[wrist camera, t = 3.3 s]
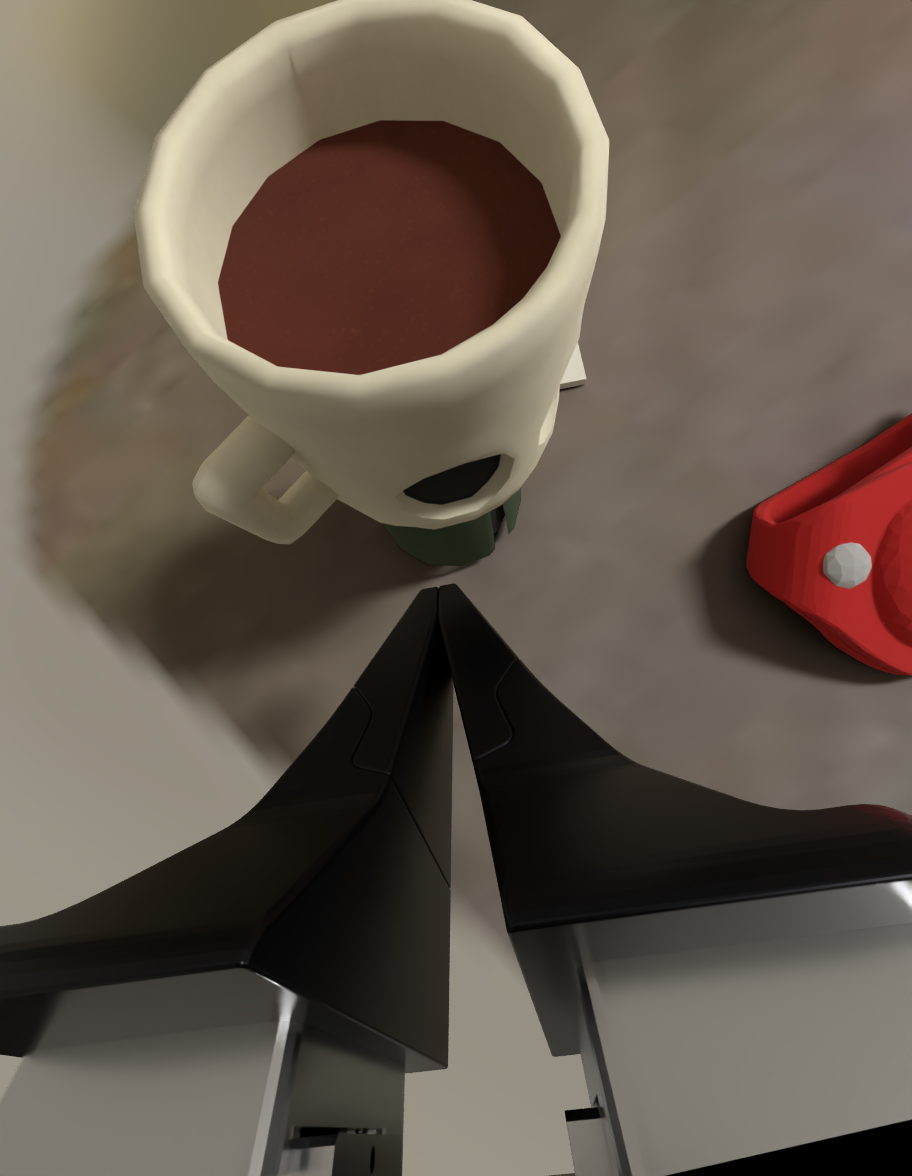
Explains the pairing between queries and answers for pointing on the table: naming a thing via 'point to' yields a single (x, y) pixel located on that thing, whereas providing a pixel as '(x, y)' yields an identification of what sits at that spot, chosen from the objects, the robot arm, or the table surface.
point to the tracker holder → (846, 550)
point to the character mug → (380, 262)
